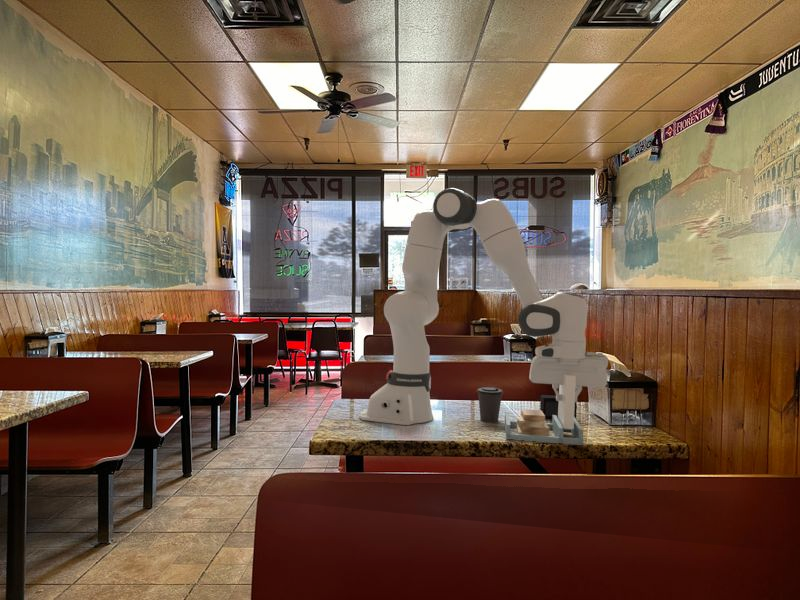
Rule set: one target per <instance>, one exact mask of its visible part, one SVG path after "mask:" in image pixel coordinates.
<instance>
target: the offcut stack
mask: <svg viewBox="0 0 800 600" xmlns="http://www.w3.org/2000/svg"><path fill="white" fill-rule="evenodd" d="M520 411H521V412H520V416H519V418H517V420H516V421H517V424H516V427H515V428H516V434H527V435H541V436H550V429H549V427H548V425H547V424H546V423H547V422H546V419H545V415H544V413H543V412H542V410H540V409H525V408H523V409H520Z"/></svg>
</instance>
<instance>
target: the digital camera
mask: <svg viewBox="0 0 800 600" xmlns="http://www.w3.org/2000/svg"><path fill="white" fill-rule="evenodd" d="M539 399H540V402H539V404H540V405H539V410H542V412H543V413H544V415H545V421H546V420H548V421H549V420H550V421H552V415H556V416H557V418H558V403H559V401H556V395H552V394H551V395H549V394H548V395H547V394H546V395H545V394H543V395H542V394H541V395H540V397H539ZM577 403H578V401H577V402H575V410H574V417H575V419H576V420H577V412H578V411H577V410H578V409H577V408H578V405H577ZM558 420H559V419H558Z"/></svg>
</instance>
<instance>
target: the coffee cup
mask: <svg viewBox="0 0 800 600" xmlns="http://www.w3.org/2000/svg"><path fill="white" fill-rule="evenodd" d="M476 392H477V395H478V405H479V406H478V407H479V416H480V421H482V422H484V423H496V422H499V415H500V409H501V403H502V396H503V395H502V394H504V391H503V390H502V389H500V388H497V387H493V386H484V387H483V386H482V387H479V388H477V390H476Z"/></svg>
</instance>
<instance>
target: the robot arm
mask: <svg viewBox="0 0 800 600" xmlns="http://www.w3.org/2000/svg"><path fill="white" fill-rule="evenodd" d="M432 207H433V210H431V209H425V210H420V211H418V212H417V213H416V214H415V215H414V217H413V220H412V222H411V225H410V228H409V231H408V235H407V240H406V244H405V249H404V256H403V259H402V260H403V261H402V266H401V267H402V268H401V271H402V273H403V277H404V290H403V291H398V292H395V293H394V294H392V295H390V296H389V297H388V298H387V299H386V301H385V303H384V305H383V314H384V317H385V319H386V321H387V322H388V323H389V327H390V333H391V338H392V345H393V370H391V369H390V370H389V371H388V372H387V373H386V383H385V384H384V385H383V386H381V387H380V388H379V389H377V390H376V391H375V392H374V393H372V394H371V396H370V397H369V400H368V403H367V408H365V409H363V410H361V412H360V413H359V419H360V420H363V421H369V422H376V423H377V422H378V423H387V424H394V425H402V426H403V425H404V426H410V425H413V424H421V423H427V422H430V421H433V420H434V415H433V411H432V404H431V397H430V395H431V393H430V391H431V386H432V381H431V380H432V377H431V372H430V353H431V352H430V351H431V349H430V345H429V343H428V339H427V337H426V331H425V330H426V329H425V326H428V325H429V324H430V323H432V322H433V321H434V320H436V318H437V317H438V315H439V311H440V306H439V302H438V276H439V269H440V263H441V258H442V253H443V248H444V241H445V239H446V236H447V234H448V233H456V232H463V231H467V230H471V229H472V228H473V229H474V231H475V232H476V233H477V236H478V237H479V240H480V243H481V245H482V246H483V249H484V251H485V253H486V254H487V256H488V258H489V260H491V262H492V264H493V265H494V266H496V268H498V269H499V270H501V272H503V273H504V274H505V275H506V276H507V278H508V279H509V280H510V283H511V284H512V286H513V288H514V290H515V292H516V295H517V297H518V298H519V301H520V304H521V305H522V306H521V307H522V309H521V310H520V311H519V313H518V317H517V323H518V327H519V329H520V330H521V331H522V332H523V333H524V334H525V335H527V336H529V337H532V338H540V337H544V336H551V337H552V338H551V340H552V341H551V343H548V344H544V345H540V346H536V348H535V349H534V353H535V356H534V357H533V358H532V359H531V363H530V369H529V376H528V377H529V381H530V382H531V383H533V384H545V385H552V387H551V388H552V389H553V391H554V393H555V396H556V401H562V394H559V390H558V389H559V385H563V380H564V373H566V374H574V375H575V376H576V387H575V402H577V403H578V396H579V395H580V394H581V392H582V391H583V387H590V388H592V387H593V388H605V387H606V386H607V385H608V375H607V368H608V365H609V358H608V356H607V355H606V354H603V352H592V351H586V348H587V337H586V333H585V332H586V329H587V325H588V324H587V323H588V308H587V302H586V300H585V298H584V297H583V296H582V295H581V294H577V293H574V292H568V291H561V290H560V291H557V292H556V293H555V294H553V295H551V296H549V297H547V298H544V296H543V295H542V294H541V291H540V289H539V287H538V285H537V282H536V280H535V279H534V276H533V274H532V272H531V269H530V266H529V261H528V256H527V252H526V248H525V243H524V239H523V237H522V234H521V232H520V229H519V227H518V225H517V223H516V220H515V219H514V217H513V215H512V214H511V212H510V211H509V209H508V208H507V206H506V205H505V203H504V202H503V201H502V200H500V199H497V198H490V199H489V198H488V199H486V200H484V201H481V202H478V201H477V200H476V199H475V198H474V197H473V196H472V195H470V194H469V193H468V192H465V191H463V190H461V189H459V188H454V187H450V188H445V189H443V190H441V191H440V192H438V193H437V195H436V196H435V199H434V200H433V204H432Z"/></svg>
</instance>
